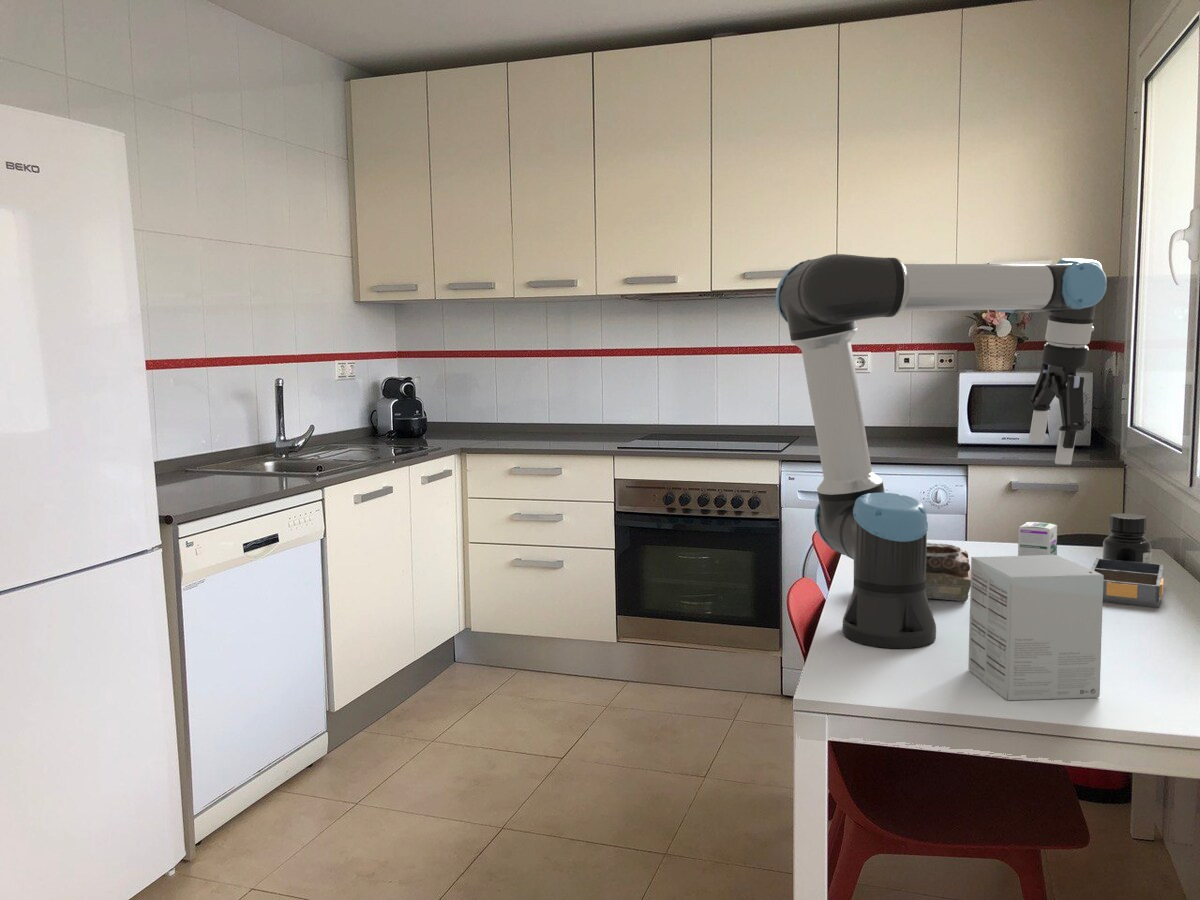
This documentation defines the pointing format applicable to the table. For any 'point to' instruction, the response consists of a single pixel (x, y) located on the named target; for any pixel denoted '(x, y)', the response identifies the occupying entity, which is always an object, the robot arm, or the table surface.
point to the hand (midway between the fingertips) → (1048, 452)
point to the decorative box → (947, 572)
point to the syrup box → (1037, 539)
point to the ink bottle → (1127, 539)
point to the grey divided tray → (1131, 582)
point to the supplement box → (1036, 627)
